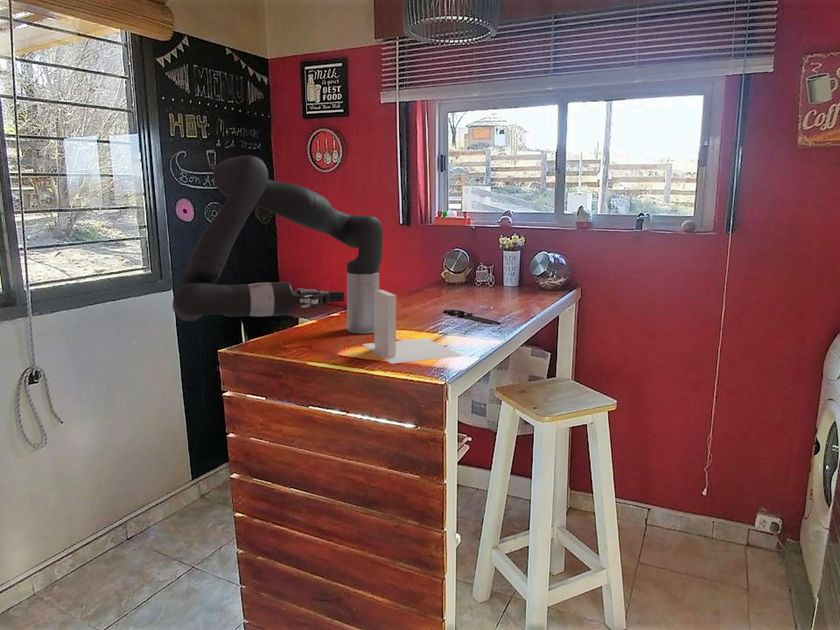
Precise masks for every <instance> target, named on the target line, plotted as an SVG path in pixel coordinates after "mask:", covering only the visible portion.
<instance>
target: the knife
mask: <svg viewBox="0 0 840 630" xmlns="http://www.w3.org/2000/svg"><path fill="white" fill-rule="evenodd" d="M442 313H443V314H447V315H448V316H452V317H455V316H457V318H460V319H465V318H466V319H469V320H474V321H478V322H483V323H487V324H499V325H501V322H500V321H498V320H494V319H489V318H484V317H480V316H475V315H473V314H474V313H473V312H467V311H463V310H459V309H458V310H457V309H452V308H451V309H444V310H443V311H442Z"/></svg>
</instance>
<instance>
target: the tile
mask: <svg viewBox="0 0 840 630" xmlns="http://www.w3.org/2000/svg"><path fill="white" fill-rule="evenodd" d="M396 335H397V294H394V293H391V292H389V291H386V290H384V289H379V290H375V333H374V343H375V349H376V350H378V351H379V352H381V353H382V354H384V355H385V356H387V357H394V356H396V341H397V339H396V337H397V336H396Z"/></svg>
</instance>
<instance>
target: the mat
mask: <svg viewBox="0 0 840 630" xmlns="http://www.w3.org/2000/svg"><path fill="white" fill-rule="evenodd" d="M361 345H362V347H365V348H366V349H368V350H370V351H371V352H372V353H374V354H376V355H377V356H378V357H381V358H382V359H383V360H385V362H387V363H389V364H392V365H393V364H400V363H401V364H402V363H410V362H419V361H420V362H421V361H428V360H437V359H439V360H440V359H446V358H456V357H463V355H462V354H460V353H458V352H456V351H454V350H452V349H450V348H448V347H446V346H444V345H442V344H440V343H438V342H436V341H433V340H432V339H430V338H428V337H423V338H422V337H421V338H413V339H402V340H401V339H400V340H396V356H394V357H387V356H385V355H384V354H382V353H381V352H379V351H378V350H376V349H375V342H371V343H370V342H369V343H361Z"/></svg>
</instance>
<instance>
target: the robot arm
mask: <svg viewBox="0 0 840 630" xmlns="http://www.w3.org/2000/svg"><path fill="white" fill-rule="evenodd" d="M212 178H213V180H212V181H213V182H214V186H216V188H217V190H218V191H219V192H220V193H221V194H222V195H224V196H225V197H227V199H226V201H225V202H224V204H223V205H222V207H221V209H220V210H219V211H218V213H217V214H216V216H215V217H214V218H213V220H212V221H211V222H210V223H209V224H208V225H207V226H206V228H205V229H204V230H203V231H202V234H201V235H200V237H199V239H198V241H197V243H196V244H195V247H194V249H193V251H192V254H191V257H190V258H189V262H188V265H187V270H186V272H185V274H184V276H183V279H182V281H181V283H180V285H179V287H178V288H177V289H176V291H175V292H174V295H173V299H172V310H173V312H174V314H175V315H176V316H177V317H178V319H180V320H182V321H185V322H194V321H197V320H199V319H200V318H202V317H203V316H207V315H208V316H209V315H210V316H212V315H223V316H225V317H229V318H230V317H232V318H233V317H238V318H239V317H258V318H259V317H277V316H290V315H291V314H292V313H293V308H294V306H297V307H299V308H301V309H302V308H303V309H306V308H308V307H310V308H312V309H314V308H316V307H317V308H318V307H321V306H327V305H329V303H334V302H336V303H337V302H339V303H340V302H344V301H345V292H344V291H341V290H340V291H339V290H338V291H326V290H322V289H315V288H313V289H312V288H311V289H310V288H309V289H308V288H303V287H302V288H297V289H296V290H293V288H292V285H291V283H290V282H288V281H278V282H275V281H274V282H273V281H272V282H270V281H269V282H256V283H255V282H254V283H250V284H247V283H246V284H228V285H227V284H224V285H223V284H216V283H217V282H218V280H219V278H220V277H221V275H222V272H223V271H224V268H225V265H226V263H227V261H228V259H229V255H230V253H231V251H232V248H233V245H234V244H235V242H236V240H237V238H238V236H239V234H240V232H241V230H242V228H243V227H244V225H245V224H246V221H247V220H248V218H249V216H250V215H251V213H252V212H253V210H254V208H255V206H256V207H260V208H262V209H264V210H266V211H268V212H270V213H272V214H275V215H277V216H279V217H282V218H284V219H287V220H288V221H291V222H293V223H295V224H297V225H300V226H302V227H305V228H307V229H311V230H313V231H316V232H319V233H323V234H326V235H328V236H330V237H332V238H334V239H336V240H337V241H339V242H340V243H342V244H344V245H345V246H348V247H349V248H354V249H358V252H357V256H356V258H354V259H352V260H349V261H348V262H347V264H346V295H347V296H346V306H347V307H346V310H347V311H346V312H347V314H346V316H347V319H346V323H347V325H346V328H347V329H346V331H347V332H348V333H353V334H358V335H359V334H360V335H361V334H362V335H366V334H367V335H368V334H375V290H380V266H381V263H382V258H383V243H384V242H383V241H384V240H383V239H384V231H383V227H382V226H383V225H382V222H381V221H380V220H379V219H378V218H377V217H375V216H372V215H356V214H355V215H354V214H348V213H345V212H344V211H343V212H342V211H339V210H337V209H336V208H334V207H333V206H332V204H331V203H330V202H329V200H328V199H327V198H326V197H325V196H322V195H321V194H320V193H317V192H315V191H313V190H311V189H309V188H307V187H305V186H302V185H297V184H293V183H288V182H284V181H283V182H282V181H276V180H274V179H273V180H272V179H270V178H269V171H268V168H267V165H266V163H265V162H264V161H263V160H262V159H261V158H260V157H258V156H255V155H250V154H249V155H240V156H236V157H231V158H226V159H224V160H222V161H220V162H219V163H217V164H216V166H215V167H214V169H213V172H212Z"/></svg>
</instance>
